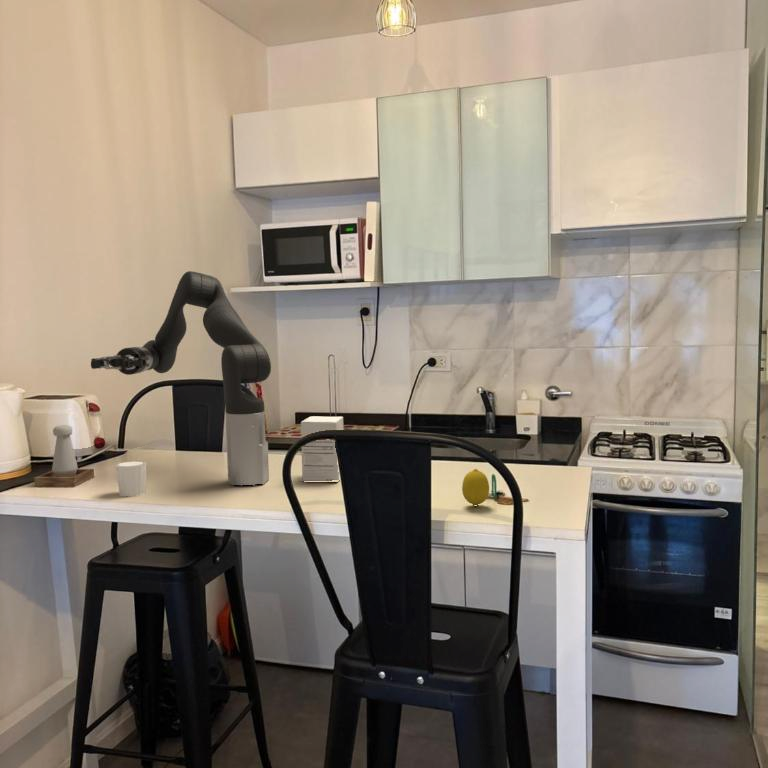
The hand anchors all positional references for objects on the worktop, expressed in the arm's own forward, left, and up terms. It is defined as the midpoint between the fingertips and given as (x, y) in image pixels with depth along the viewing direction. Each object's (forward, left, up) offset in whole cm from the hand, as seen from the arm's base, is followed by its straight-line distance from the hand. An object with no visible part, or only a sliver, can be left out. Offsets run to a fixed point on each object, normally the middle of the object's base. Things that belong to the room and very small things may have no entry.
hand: (108, 364), depth 191 cm
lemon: (-94, +35, -28) cm, 104 cm away
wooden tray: (+6, +14, -28) cm, 32 cm away
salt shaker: (+6, +14, -27) cm, 31 cm away
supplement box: (-58, +10, -28) cm, 65 cm away
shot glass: (-16, +25, -28) cm, 41 cm away
